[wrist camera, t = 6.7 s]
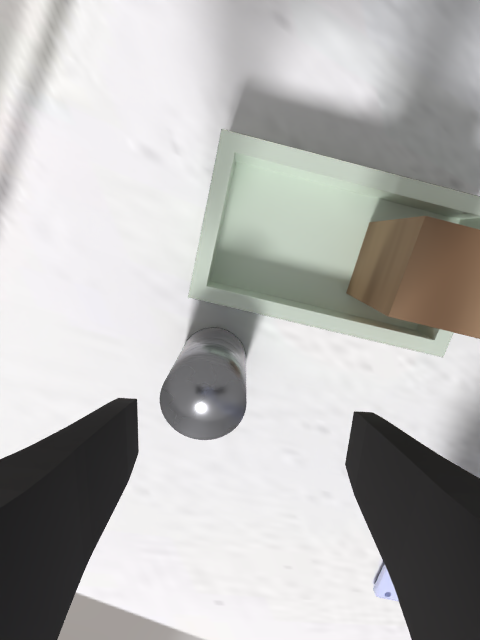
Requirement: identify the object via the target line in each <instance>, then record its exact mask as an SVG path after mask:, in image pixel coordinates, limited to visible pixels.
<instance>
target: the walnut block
mask: <svg viewBox="0 0 480 640" xmlns="http://www.w3.org/2000/svg"><path fill="white" fill-rule="evenodd" d="M346 294H348V295H350V296H352V297H354V298H356V299H357V300H359V301H361V302H363V303H365V304H366V305H368V306H370V307H372V308H374V309H375V310H377V311H379V312H381V313H383V314H384V315H386V316H388V317H392V318H396V319H400V320H404V321H408V322H413V323H417V324H421V325H425V326H429V327H433V328H437V329H442V330H446V331H450V332H454V333H458V334H462V335H466V336H471V337H475V338H479V339H480V230H479V229H475V228H471V227H467V226H464V225H460V224H456V223H452V222H448V221H444V220H440V219H437V218H433V217H429V216H419V217H410V218H402V219H393V220H385V221H376V222H369V225H368V228H367V231H366V234H365V237H364V240H363V243H362V246H361V249H360V253H359V256H358V259H357V262H356V265H355V268H354V271H353V274H352V277H351V280H350V283H349V286H348V289H347V292H346Z"/></svg>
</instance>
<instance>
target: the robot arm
mask: <svg viewBox="0 0 480 640" xmlns="http://www.w3.org/2000/svg"><path fill="white" fill-rule="evenodd" d="M137 455H138V417H137V399H128V398H118V399H115V400H113V401H111V402H109V403H108V404H106V405H104V406H102V407H101V408H99V409H97V410H95V411H94V412H92V413H90V414H89V415H87V416H85V417H83V418H82V419H80V420H78V421H76V422H75V423H73V424H71V425H69V426H68V427H66V428H64V429H62V430H60V431H58V432H56V433H54V434H52V435H50V436H48V437H47V438H45V439H43V440H41V441H39V442H37V443H35V444H33V445H31V446H29V447H27V448H25V449H23V450H20V451H18V452H16V453H14V454H12V455H9V456H7V457H5V458H2V459H0V640H57V639H58V636H59V634H60V631H61V628H62V626H63V623H64V620H65V618H66V615H67V613H68V610H69V608H70V605H71V603H72V600H73V597H74V595H75V593H76V590H77V588H78V585H79V583H80V580H81V578H82V575H83V573H84V570H85V568H86V566H87V564H88V561H89V559H90V557H91V555H92V553H93V551H94V549H95V547H96V545H97V543H98V541H99V539H100V537H101V535H102V533H103V531H104V529H105V527H106V525H107V523H108V521H109V519H110V517H111V515H112V513H113V511H114V509H115V507H116V505H117V503H118V501H119V499H120V497H121V495H122V493H123V491H124V489H125V487H126V485H127V483H128V481H129V478H130V475H131V473H132V470H133V467H134V464H135V461H136V458H137ZM345 465H346V469H347V472H348V476H349V479H350V483H351V486H352V489H353V492H354V495H355V498H356V500H357V502H358V505H359V507H360V509H361V512H362V514H363V516H364V519H365V521H366V523H367V525H368V528H369V530H370V532H371V534H372V537H373V539H374V541H375V543H376V546H377V548H378V550H379V552H380V555H381V557H382V559H383V561H384V566H383V568H382V570H381V572H380V575H379V577H378V579H377V581H376V583H375V585H374V588H373V590H374V592H375V595H376V596H377V597H379V598H384V599H389V600H395V601H399V603H400V606H401V609H402V612H403V615H404V618H405V620H406V623H407V626H408V629H409V632H410V635H411V639H412V640H480V478H478V477H476V476H474V475H472V474H471V473H469V472H467V471H465V470H464V469H462V468H460V467H459V466H457V465H455V464H454V463H452V462H450V461H448V460H447V459H445V458H443V457H442V456H440V455H439V454H437V453H435V452H434V451H432V450H431V449H429V448H428V447H426V446H424V445H423V444H421V443H420V442H418V441H417V440H415V439H414V438H412V437H411V436H409V435H408V434H406V433H405V432H403V431H402V430H400V429H399V428H397V427H396V426H394V425H393V424H391V423H389V422H388V421H386V420H385V419H383V418H382V417H380V416H378V415H376V414H374V413H372V412H354V415H353V421H352V427H351V433H350V439H349V445H348V451H347V457H346V463H345Z"/></svg>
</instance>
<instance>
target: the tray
mask: <svg viewBox="0 0 480 640" xmlns="http://www.w3.org/2000/svg"><path fill="white" fill-rule="evenodd" d="M419 216H429V217H433V218H437V219H440V220H444V221H448V222H452V223H456V224H460V225H464V226H467V227H471V228H475V229H479V230H480V197H479V196H476V195H472V194H468V193H464V192H460V191H457V190H453V189H449V188H445V187H441V186H438V185H434V184H430V183H426V182H422V181H418V180H415V179H411V178H407V177H403V176H399V175H396V174H392V173H388V172H384V171H380V170H377V169H373V168H369V167H365V166H361V165H357V164H354V163H350V162H346V161H342V160H338V159H335V158H331V157H327V156H323V155H319V154H315V153H312V152H308V151H304V150H300V149H296V148H293V147H289V146H285V145H281V144H277V143H274V142H270V141H266V140H262V139H258V138H254V137H251V136H247V135H243V134H239V133H235V132H232V131H228V130H224V129H222V130H221V135H220V140H219V145H218V150H217V155H216V160H215V165H214V170H213V175H212V180H211V185H210V190H209V195H208V200H207V205H206V210H205V215H204V220H203V225H202V230H201V235H200V240H199V245H198V250H197V255H196V260H195V265H194V270H193V275H192V280H191V285H190V290H189V295H188V298H193V299H197V300H201V301H205V302H209V303H214V304H218V305H222V306H226V307H231V308H235V309H239V310H243V311H248V312H252V313H256V314H260V315H265V316H269V317H273V318H277V319H282V320H286V321H290V322H294V323H299V324H303V325H307V326H311V327H316V328H320V329H324V330H328V331H333V332H337V333H341V334H345V335H350V336H354V337H358V338H362V339H367V340H371V341H375V342H379V343H384V344H388V345H392V346H396V347H401V348H405V349H409V350H413V351H417V352H422V353H426V354H430V355H434V356H439V357H443V356H444V354H445V352H446V349H447V347H448V345H449V342H450V340H451V338H452V335H453V333H454V332H450V331H446V330H442V329H437V328H433V327H429V326H425V325H421V324H417V323H413V322H408V321H404V320H400V319H396V318H392V317H388V316H386V315H384V314H383V313H381V312H379V311H377V310H375V309H374V308H372V307H370V306H368V305H366V304H365V303H363V302H361V301H359V300H357V299H356V298H354V297H352V296H350V295H348V294H346V292H347V289H348V286H349V283H350V280H351V277H352V274H353V271H354V268H355V265H356V262H357V259H358V256H359V253H360V249H361V246H362V243H363V240H364V237H365V234H366V231H367V228H368V225H369V222H376V221H385V220H393V219H402V218H410V217H419Z"/></svg>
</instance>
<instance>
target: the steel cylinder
mask: <svg viewBox="0 0 480 640" xmlns="http://www.w3.org/2000/svg"><path fill="white" fill-rule="evenodd" d="M160 406H161V410H162V413H163V415H164V417H165V419H166V420H167V422H168V423H169V424H170V425H171V426H172V427H173V428H174V429H175V430H176V431H178V432H179V433H181V434H183V435H184V436H187V437H190V438H193V439H199V440H211V439H216V438H219V437H222V436H224V435H226V434H228V433H230V432H231V431H232V430H234V429H235V428H236V427H237V426H238V424H239V423H240V422H241V420H242V418H243V416H244V413H245V410H246V355H245V350H244V347H243V345H242V343H241V342H240V340H239V339H238V338H237V337H236V336H235V335H234V334H232V333H231V332H229V331H227V330H224V329H221V328H206V329H202V330H200V331H198V332H196V333H195V334H193V335H192V336H191V337H190V338H189V339H188V340H187V342H186V344H185V345H184V347H183V349H182V351H181V353H180V355H179V356H178V358H177V360H176V362H175V364H174V365H173V367H172V369H171V371H170V373H169V375H168V376H167V378H166V380H165V382H164V384H163V386H162V389H161V393H160Z"/></svg>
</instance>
